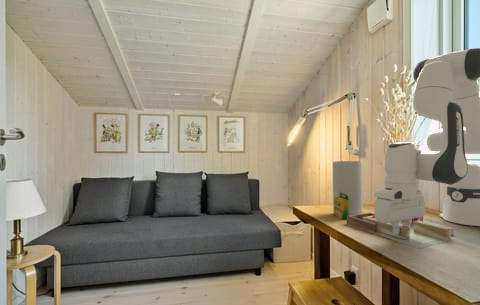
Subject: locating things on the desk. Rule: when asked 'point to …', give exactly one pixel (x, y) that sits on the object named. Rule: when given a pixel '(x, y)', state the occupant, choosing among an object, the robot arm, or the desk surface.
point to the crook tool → (389, 228)
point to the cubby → (362, 222)
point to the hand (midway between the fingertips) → (401, 232)
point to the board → (413, 238)
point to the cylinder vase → (348, 184)
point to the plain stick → (432, 230)
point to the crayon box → (341, 207)
